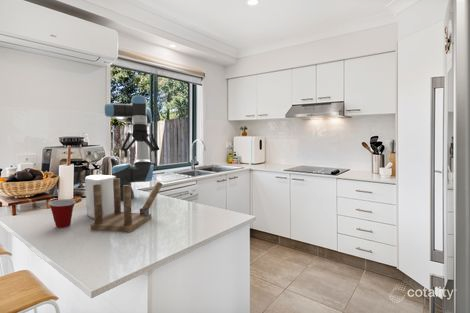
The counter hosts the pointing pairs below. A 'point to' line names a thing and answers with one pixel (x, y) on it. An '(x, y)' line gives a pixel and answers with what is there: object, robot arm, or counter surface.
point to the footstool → (116, 211)
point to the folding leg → (152, 196)
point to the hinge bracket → (144, 212)
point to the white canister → (106, 194)
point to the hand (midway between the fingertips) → (140, 163)
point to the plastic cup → (62, 212)
